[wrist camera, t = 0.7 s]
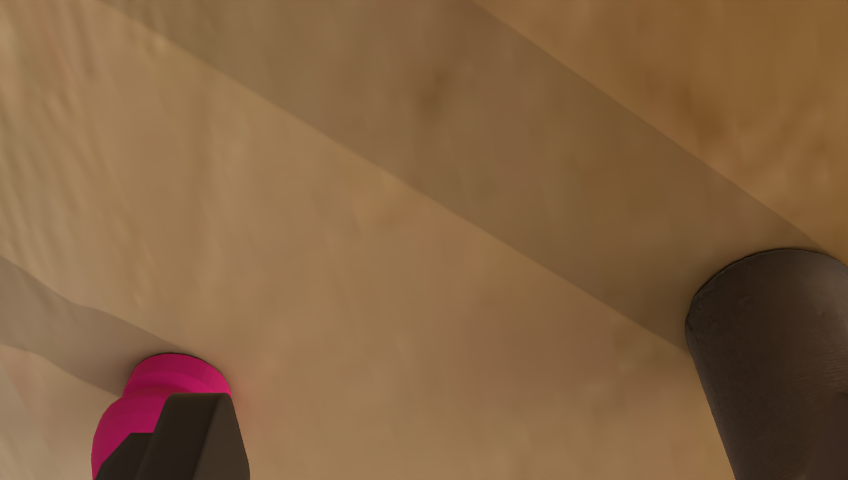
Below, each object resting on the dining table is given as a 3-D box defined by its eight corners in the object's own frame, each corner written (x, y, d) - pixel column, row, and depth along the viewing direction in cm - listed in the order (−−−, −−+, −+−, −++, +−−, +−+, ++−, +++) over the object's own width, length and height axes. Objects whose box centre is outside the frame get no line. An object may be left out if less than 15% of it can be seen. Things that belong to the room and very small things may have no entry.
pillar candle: (664, 281, 44) (741, 515, 32) (851, 222, 42) (1015, 451, 29) (708, 398, 49) (790, 640, 37) (878, 351, 46) (1028, 594, 34)
